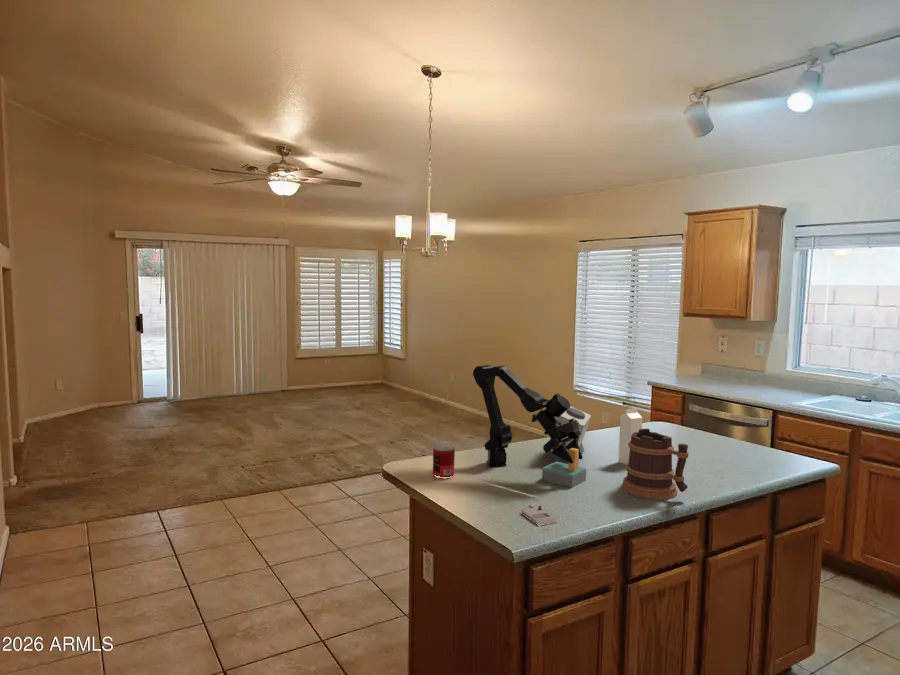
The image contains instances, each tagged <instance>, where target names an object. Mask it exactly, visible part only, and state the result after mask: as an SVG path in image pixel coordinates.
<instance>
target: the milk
mask: <svg viewBox="0 0 900 675" xmlns="http://www.w3.org/2000/svg"><path fill="white" fill-rule="evenodd" d="M619 418H620V419H619V438H618V439H619V442H618V443H619V444H618V461H617V462H618V463H619V464H620V463H621V464H622V463H623V464H622V465H625V466H627V464H628V463H629V453H630V448H629V446H628V443H629V442H630V441H631V435H632V434H633V433H634V432H639V429H643V416H642V415H641V414H640V413H639V412H638V408H637V407H635V408H628V409H625V413H624V414H621V415H620V417H619Z"/></svg>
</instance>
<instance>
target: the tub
mask: <svg viewBox="0 0 900 675" xmlns="http://www.w3.org/2000/svg"><path fill="white" fill-rule="evenodd" d="M541 473H542V475H541V479H542V481H545V482H549V483H553V484H557V485H561V486H565V487H569V488H575V487H576V486H579V485H580V484H582V483H584V482H586V481H587V470H586V471H585V472H583V473H581V474H580V475H578V476H576V477H574V478H571V477H567V476H563V475H559V474H555V473H551V472H547V471H543V470H542V472H541Z"/></svg>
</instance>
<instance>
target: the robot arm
mask: <svg viewBox="0 0 900 675" xmlns="http://www.w3.org/2000/svg"><path fill="white" fill-rule="evenodd" d="M472 376H473V378H474V381H475V383H476V385H477V386H478V387H479V388H480V389H481V391H482V395H483V400H484V404H485V407H486V412H487V416H488V418H489V423H490V427H489V433H488V434H489V439H488V440H487V441H486V442H485V443H484V449H485V450H486V451H487V460H485V462H486V464H488V466H489V467H490V468H494V467H495V468H496V467H507V456H508V455H507V452H506V448H509V445H510V444H511V442H512V440H513V433H512V431H511V430H512V429H511V426H510V424H506V423H505V422H504V419H503V417H502V413H501V408H500V404H499V401H498V398H497V394H496V389H495V382H496V381H495V380H496V377H498V378H499V379H500V380H501V381H502V382H503V383H504V384H505V385H506V386H507V387H508V388H509V389H510V390H511V391H512V392H513V393H515V395H516V396H517V397H518V398H519V400H520V403H521V406H522V407H524V409H525V410H526V411H527V412H528V413H534V414H532V418H531V423H535V422H538V423H539V424H540V426H541V428H542V429H543V430H544V432H543V434H544V436H547V435H548V437H549V438H551V439H549V440H548V441H547V442H546V443H544V445H542V450H543V451H544V454H545V453H546V454H547V453H549V452H551V449H552V450H553V451H552V452H551V454H554V455H556V456H558V457H560V458H562V459H564V460H565V461H567V462H566V463H568V462H569V463H571V464H572V463H574V461H573V460H572V458H571V456H570V454H569V453H568V451H567V450H566V448H567V449H568V450H569V449H571V448H575V449H579V446H578V439H579V436H581V435H582V434H581V433H580V431H579V430H576V429H579V427H578V425H579V422H578V421H577V420H576V419H575V418H572V419H570V420H569V423H566V424H563V423H562V422H561V421H560V422H558V421H557V417H560V416H561V415H562V414H563V413H564V412H565V411H567V410H568V409H569V408H570V406H571V404H570V401H569V400H568V398H566V397H565V396H562V395H561V394H560V393H555V394H554V395H553V396H552V397H551V398H550V400H549V399H546V398H545V397H544V396H543V395H541V394H540V393H538V392H537V391H535V390H532V389H531V388H529V387H528V386H526V384H525V383H523V382H522V381H521V380H520V379H519V378H518V377H517V375H515V374H514V373H513V372H512V371H511V370H510V369H509V367H508V366H506V365H504V364H503V365H498V366H497V365H496V366H493V365H491V364H484V365H478V366H475V367H474V369H473V370H472ZM535 412H537V413H535ZM566 445H567V446H566ZM579 459H580V460H579V461H581V460H582V459H583V455H582V454H581V452H580V449H579ZM569 463H568V464H569Z"/></svg>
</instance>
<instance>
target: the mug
mask: <svg viewBox="0 0 900 675" xmlns="http://www.w3.org/2000/svg"><path fill="white" fill-rule="evenodd" d="M628 446H629V448H630V453H629V463H628V464H627V465H625V470H626V471H627V474H626V476H624V477H623V480H622V483H621V487H622V489H623V490H624V491H626V492H627V493H628V495H630V496H633V497H636V498H641V499H647V500H657V501H659V500H660V501H661V500H670V499H674V498H676V497H677V496H678V490H679V492H681V493H683V492H684V491H686V490H687V489H688V485H687V484H686V483H685V482H684V481H685V476H684V475H683V474H684V473H683V472H684V469H685V468H686V467H685V466H686V463H687V459H688V458H689V454H690V453H689V451H688V450H689V449H688V448H689V445H688V444H686V443H678V445H677V448H678V450H676V449H675V447H674V446H673V437H671V436H668V435H666V434H662V433H659V432H656V431H655V432H654V431H651V430H650V428H642V429H639V432H634V433H633V434H632V435H631V441H630V442H629V443H628ZM673 455H675V456H676V457H677V460H676V461H677V462H676V466H675V470H674V469H673ZM677 488H678V490H677Z"/></svg>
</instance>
